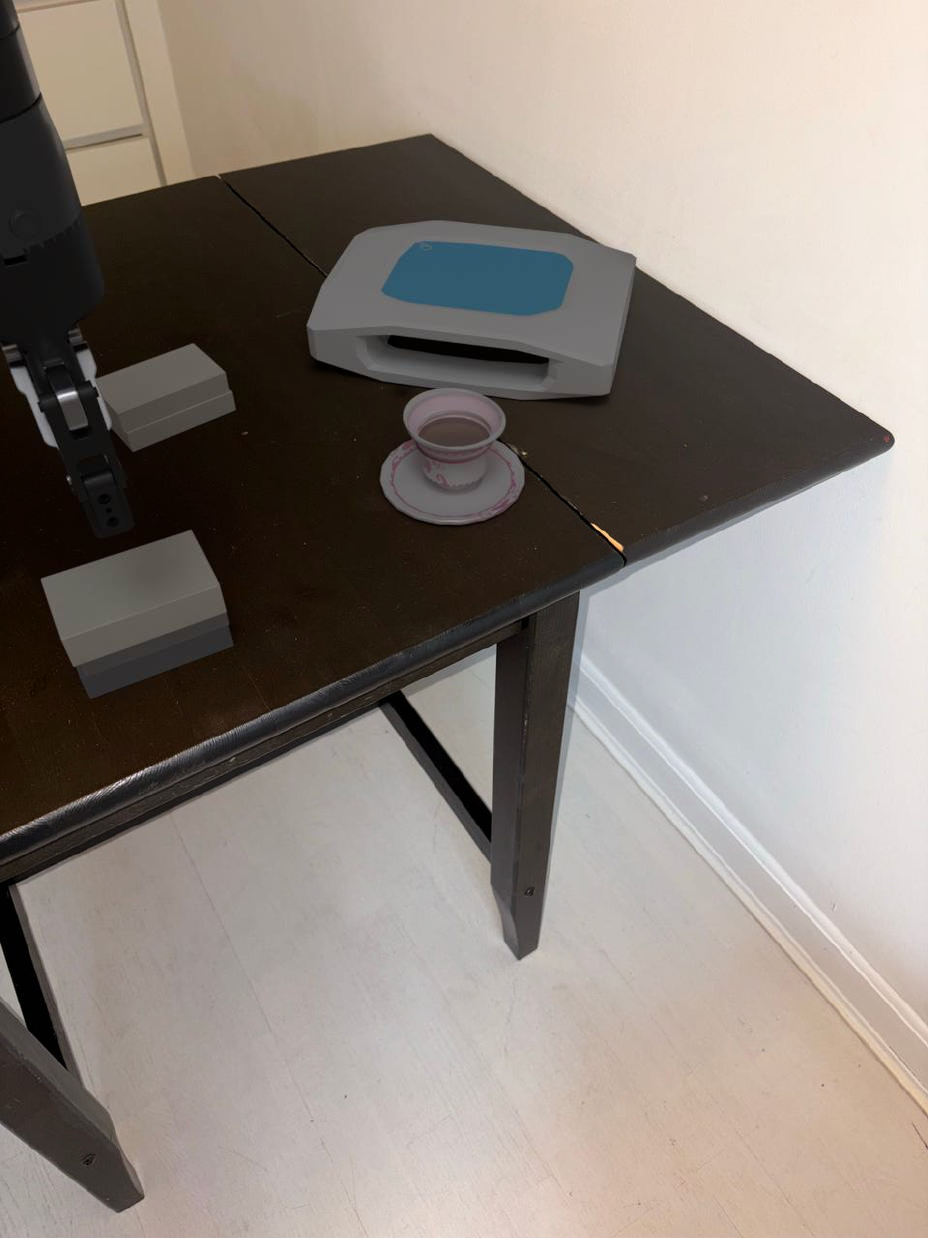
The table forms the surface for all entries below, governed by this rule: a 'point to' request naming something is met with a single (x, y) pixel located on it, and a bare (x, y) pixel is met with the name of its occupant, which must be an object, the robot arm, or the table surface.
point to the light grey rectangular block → (133, 597)
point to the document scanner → (476, 308)
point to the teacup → (452, 460)
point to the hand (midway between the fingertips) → (96, 487)
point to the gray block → (155, 656)
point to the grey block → (165, 396)
